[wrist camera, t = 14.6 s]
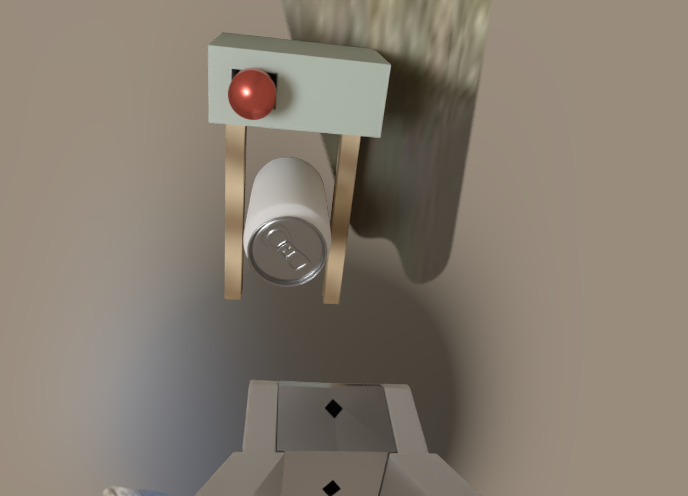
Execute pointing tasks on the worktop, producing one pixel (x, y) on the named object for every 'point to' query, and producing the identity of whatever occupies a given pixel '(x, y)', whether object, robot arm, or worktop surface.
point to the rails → (237, 204)
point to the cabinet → (303, 84)
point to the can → (287, 223)
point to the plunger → (252, 93)
